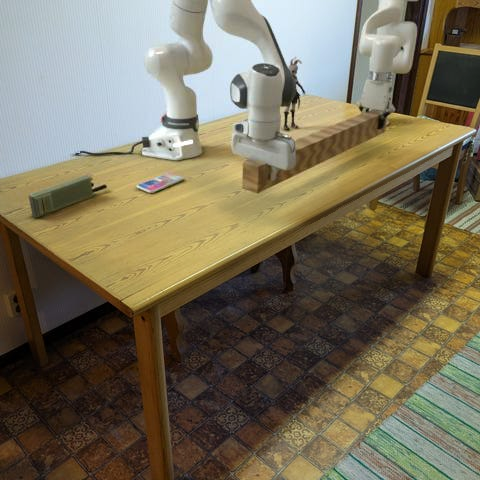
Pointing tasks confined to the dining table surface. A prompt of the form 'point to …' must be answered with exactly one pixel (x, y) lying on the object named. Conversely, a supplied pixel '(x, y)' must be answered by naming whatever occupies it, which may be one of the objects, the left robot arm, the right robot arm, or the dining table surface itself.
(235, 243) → the dining table surface
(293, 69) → the figurine
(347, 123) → the block
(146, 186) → the smartphone
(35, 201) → the handheld radio
